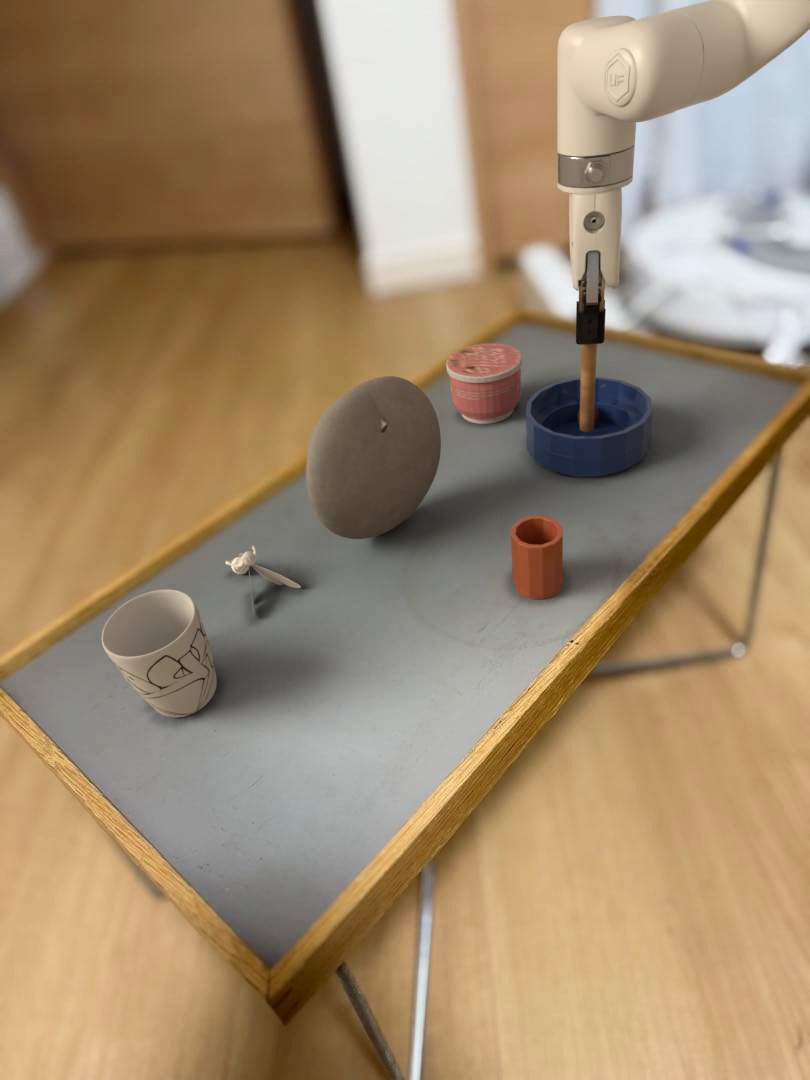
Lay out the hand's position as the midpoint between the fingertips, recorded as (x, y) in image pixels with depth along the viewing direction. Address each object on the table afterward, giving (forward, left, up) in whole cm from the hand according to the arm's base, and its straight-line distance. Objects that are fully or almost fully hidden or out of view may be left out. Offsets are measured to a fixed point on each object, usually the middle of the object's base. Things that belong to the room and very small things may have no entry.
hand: (589, 337), depth 83 cm
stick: (0, 0, -13) cm, 13 cm away
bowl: (0, +1, -15) cm, 15 cm away
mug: (+39, +43, -15) cm, 60 cm away
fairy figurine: (+36, +29, -15) cm, 49 cm away
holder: (+5, +27, -15) cm, 31 cm away
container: (+14, -9, -15) cm, 22 cm away
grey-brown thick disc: (+23, +18, -15) cm, 33 cm away
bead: (0, -3, -13) cm, 13 cm away
